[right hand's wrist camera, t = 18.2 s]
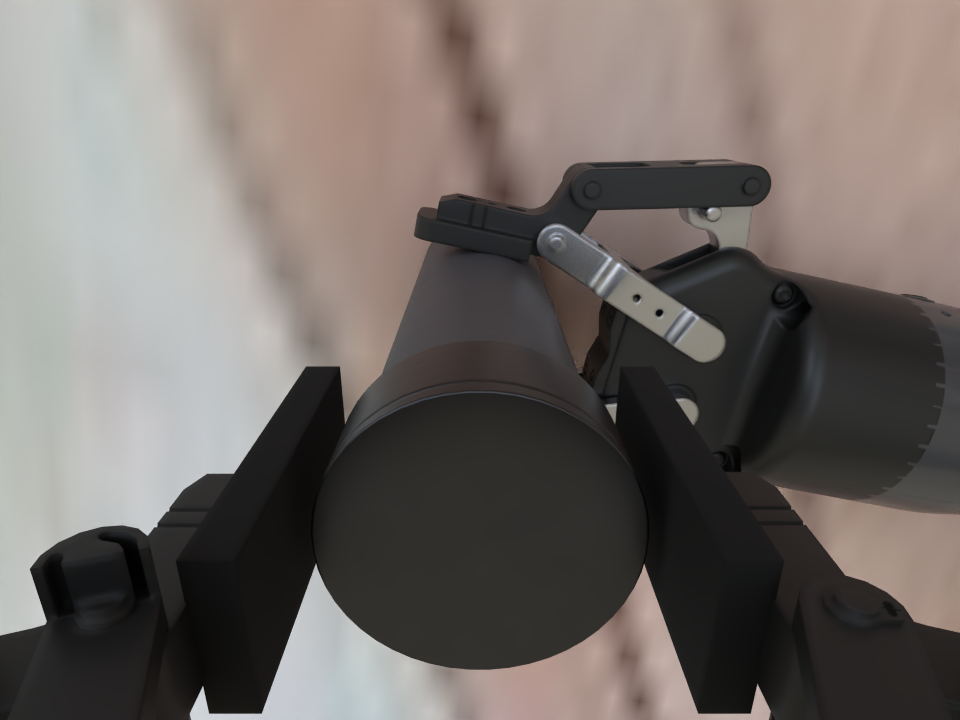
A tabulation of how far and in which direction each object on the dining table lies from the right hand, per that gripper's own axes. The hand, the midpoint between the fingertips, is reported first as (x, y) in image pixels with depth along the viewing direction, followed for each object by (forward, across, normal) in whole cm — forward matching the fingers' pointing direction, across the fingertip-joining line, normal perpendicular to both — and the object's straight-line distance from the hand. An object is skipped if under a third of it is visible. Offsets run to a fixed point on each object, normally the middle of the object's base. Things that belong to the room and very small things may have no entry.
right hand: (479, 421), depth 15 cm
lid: (-4, 0, 0) cm, 4 cm away
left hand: (+8, -2, 0) cm, 8 cm away
